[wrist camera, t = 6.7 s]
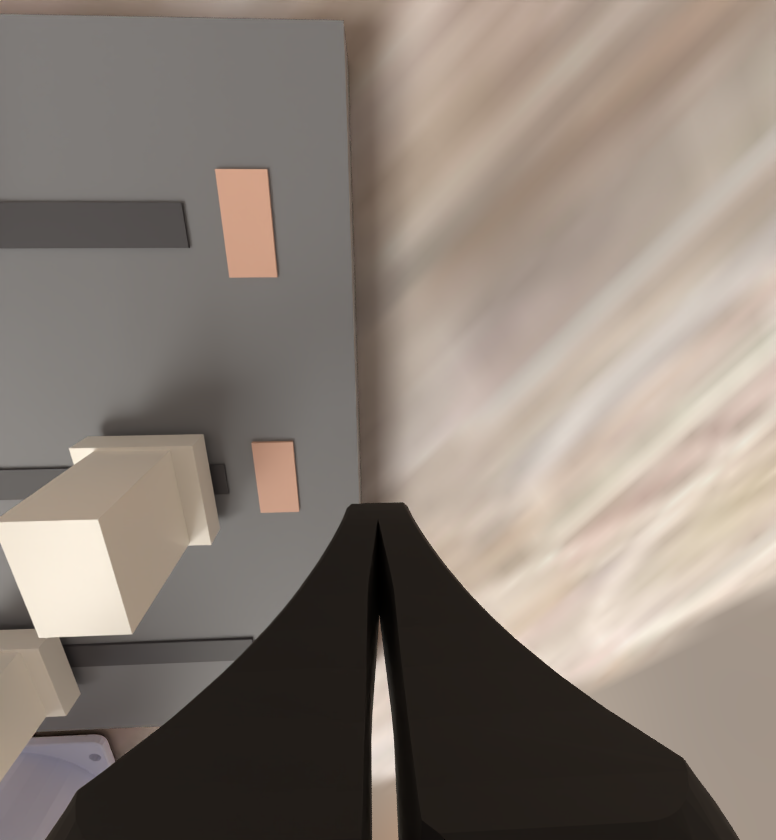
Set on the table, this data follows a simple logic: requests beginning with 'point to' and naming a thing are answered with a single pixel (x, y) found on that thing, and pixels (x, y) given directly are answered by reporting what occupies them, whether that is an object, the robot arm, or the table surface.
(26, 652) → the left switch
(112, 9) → the table surface
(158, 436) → the switch
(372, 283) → the table surface
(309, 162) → the switch panel
